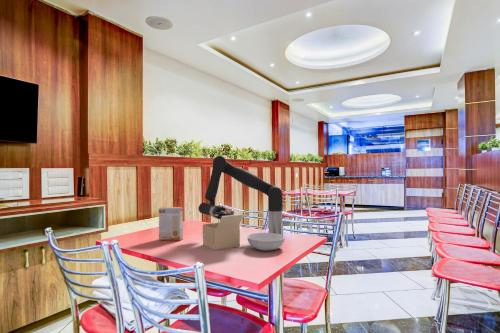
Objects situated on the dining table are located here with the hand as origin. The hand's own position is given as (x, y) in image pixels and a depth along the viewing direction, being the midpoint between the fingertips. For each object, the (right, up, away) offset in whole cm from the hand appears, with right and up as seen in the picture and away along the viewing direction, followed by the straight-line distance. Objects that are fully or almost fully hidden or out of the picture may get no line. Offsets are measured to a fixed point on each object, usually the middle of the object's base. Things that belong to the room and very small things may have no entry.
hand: (231, 216), depth 156 cm
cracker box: (-41, -20, +26) cm, 53 cm away
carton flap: (-1, -3, +2) cm, 4 cm away
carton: (-7, -19, +11) cm, 23 cm away
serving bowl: (+19, -19, +4) cm, 27 cm away
